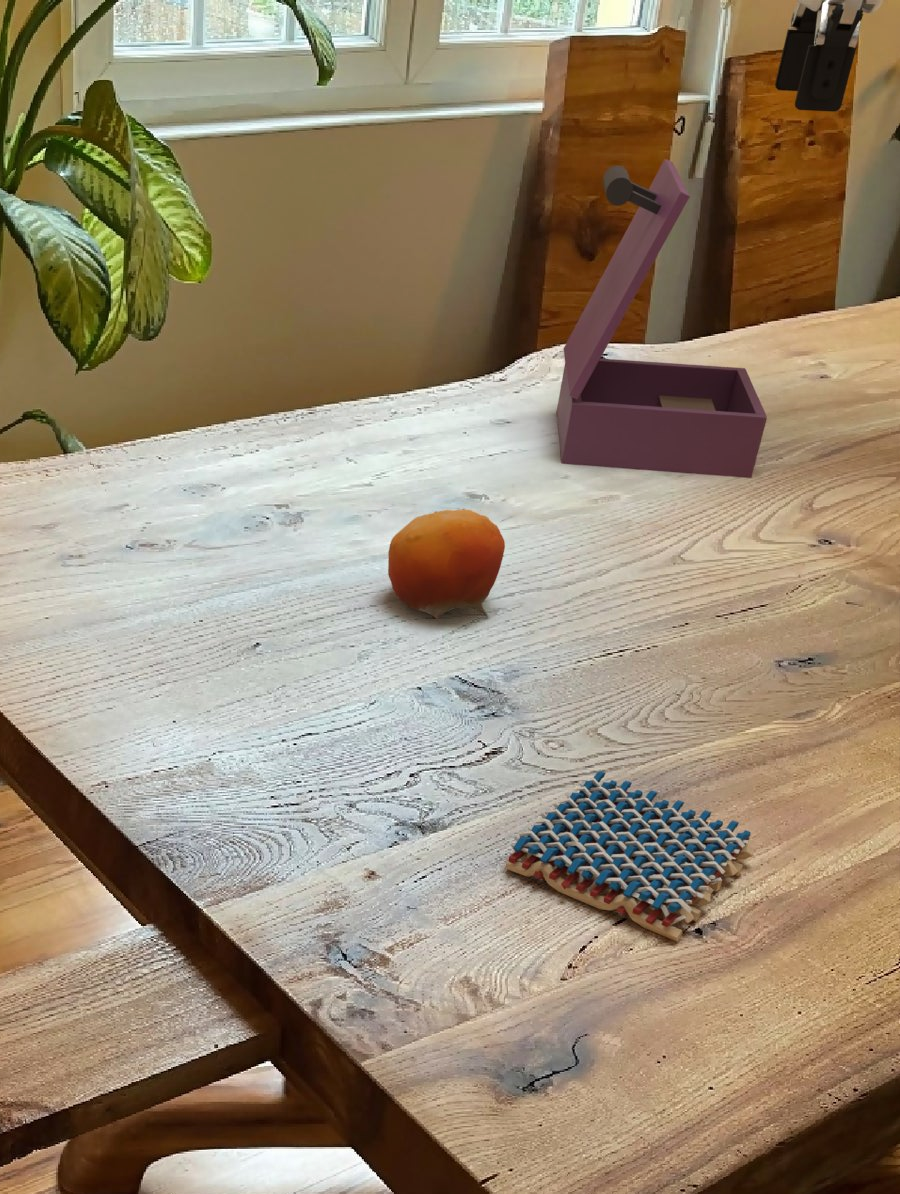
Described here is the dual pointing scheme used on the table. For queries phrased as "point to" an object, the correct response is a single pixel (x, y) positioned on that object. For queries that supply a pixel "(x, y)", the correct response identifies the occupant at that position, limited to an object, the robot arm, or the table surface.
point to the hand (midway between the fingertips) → (805, 99)
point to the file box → (662, 419)
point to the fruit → (445, 561)
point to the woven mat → (630, 854)
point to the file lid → (624, 265)
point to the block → (685, 403)
